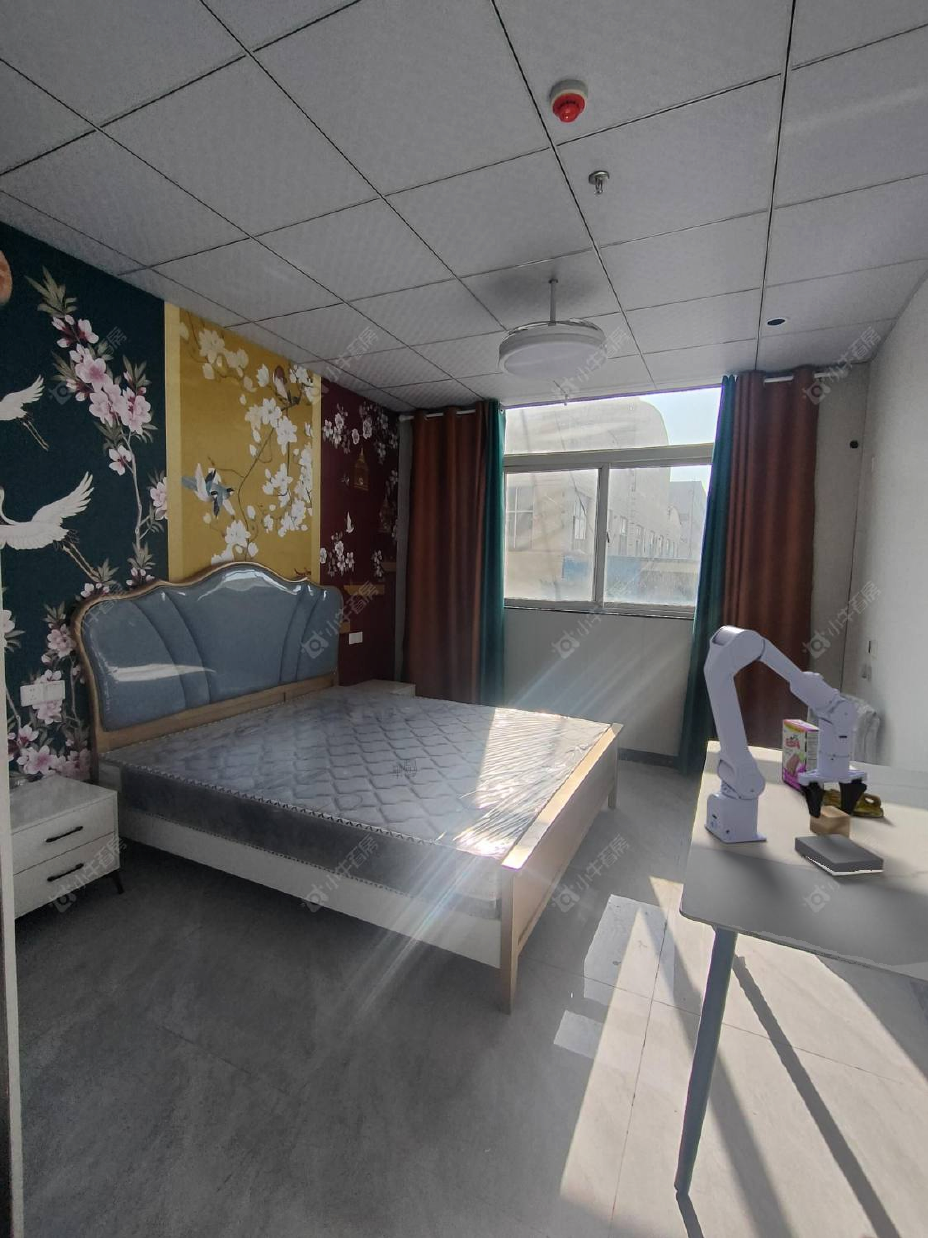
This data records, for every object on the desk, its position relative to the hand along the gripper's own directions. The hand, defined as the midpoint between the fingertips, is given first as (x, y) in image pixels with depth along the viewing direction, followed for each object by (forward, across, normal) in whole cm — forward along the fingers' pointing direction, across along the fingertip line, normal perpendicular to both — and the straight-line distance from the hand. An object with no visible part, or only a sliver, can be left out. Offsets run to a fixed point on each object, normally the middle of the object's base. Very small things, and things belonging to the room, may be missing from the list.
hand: (830, 815), depth 118 cm
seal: (+4, +14, +12) cm, 19 cm away
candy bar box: (+4, +12, +23) cm, 26 cm away
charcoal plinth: (+4, -7, -10) cm, 13 cm away
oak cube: (+4, 0, 0) cm, 4 cm away
